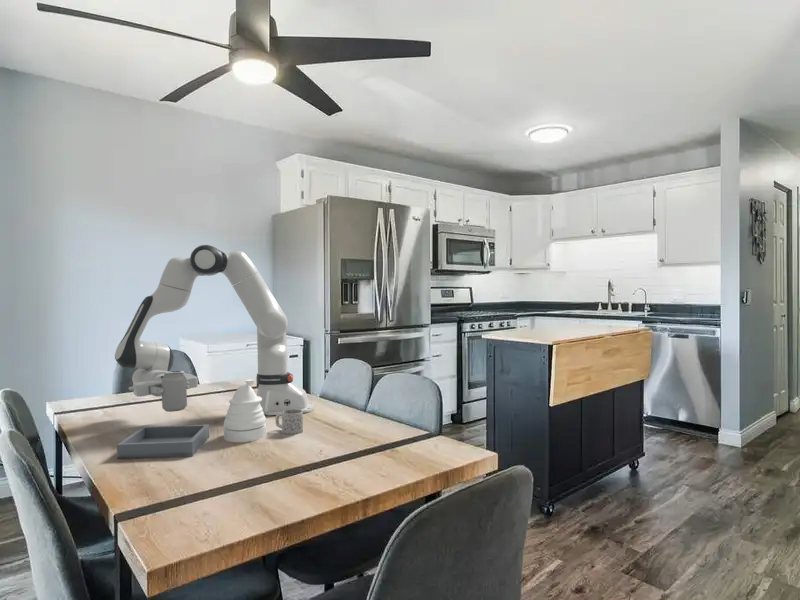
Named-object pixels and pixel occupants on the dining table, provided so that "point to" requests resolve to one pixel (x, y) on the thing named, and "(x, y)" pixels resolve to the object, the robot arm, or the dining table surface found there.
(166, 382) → the can
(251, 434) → the honey pot
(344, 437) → the dining table surface
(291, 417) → the mug
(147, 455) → the tray
